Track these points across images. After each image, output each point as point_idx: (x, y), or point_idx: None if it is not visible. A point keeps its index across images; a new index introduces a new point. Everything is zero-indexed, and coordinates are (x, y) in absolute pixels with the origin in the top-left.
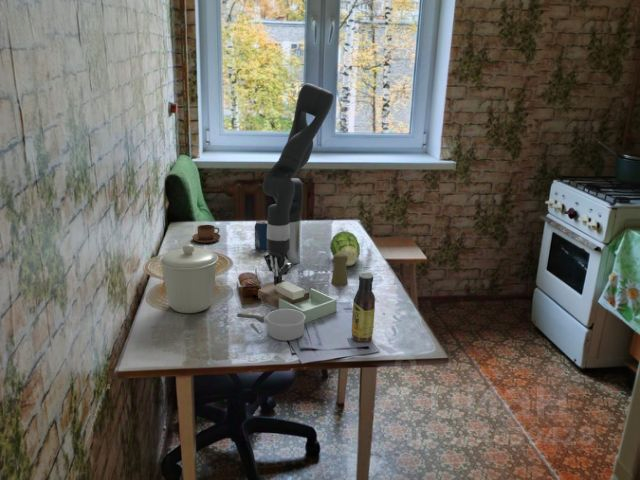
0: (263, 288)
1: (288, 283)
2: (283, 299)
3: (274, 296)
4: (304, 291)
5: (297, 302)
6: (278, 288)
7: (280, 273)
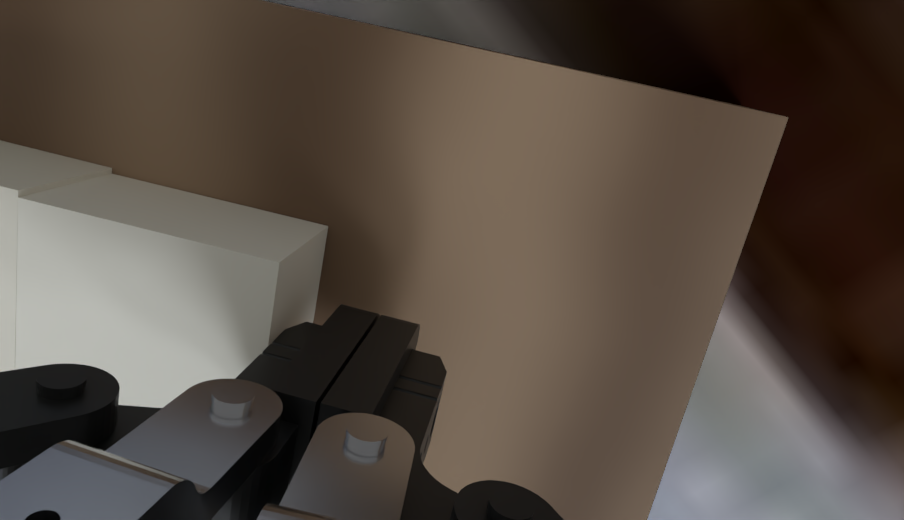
0: (580, 187)
1: None
2: (4, 25)
3: (191, 25)
4: None
5: None
6: (235, 228)
7: (16, 402)
